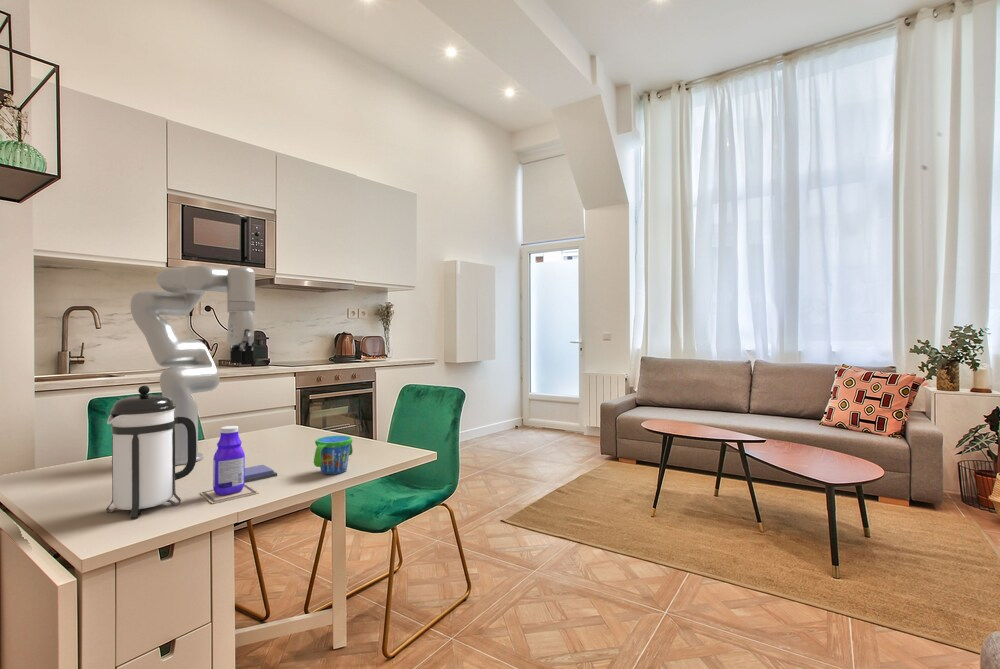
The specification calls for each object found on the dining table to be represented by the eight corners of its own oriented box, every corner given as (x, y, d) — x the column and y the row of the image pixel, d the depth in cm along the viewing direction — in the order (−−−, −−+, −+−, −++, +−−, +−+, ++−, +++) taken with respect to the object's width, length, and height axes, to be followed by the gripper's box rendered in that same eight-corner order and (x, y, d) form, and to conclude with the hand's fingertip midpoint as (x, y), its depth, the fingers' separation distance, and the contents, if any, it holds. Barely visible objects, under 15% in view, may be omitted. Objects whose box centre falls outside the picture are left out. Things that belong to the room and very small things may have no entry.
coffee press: (173, 515, 112) (173, 387, 112) (91, 523, 108) (91, 390, 107) (197, 491, 129) (196, 380, 129) (127, 497, 124) (126, 382, 124)
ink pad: (229, 475, 143) (229, 470, 143) (264, 469, 150) (264, 463, 150) (240, 483, 136) (240, 477, 136) (277, 475, 143) (277, 470, 143)
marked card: (199, 493, 127) (199, 492, 127) (244, 484, 135) (244, 482, 135) (212, 504, 120) (212, 502, 120) (258, 493, 128) (258, 491, 128)
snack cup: (339, 463, 157) (339, 432, 157) (364, 467, 152) (364, 435, 152) (301, 476, 143) (301, 442, 143) (328, 481, 138) (328, 445, 138)
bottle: (240, 486, 132) (240, 423, 132) (247, 491, 128) (247, 426, 128) (210, 492, 127) (210, 427, 127) (217, 498, 123) (216, 430, 123)
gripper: (219, 308, 150) (219, 362, 150) (237, 306, 138) (237, 365, 138) (245, 309, 156) (245, 361, 156) (264, 307, 143) (264, 364, 144)
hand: (241, 363), depth 147 cm, fingers open, 9 cm apart
